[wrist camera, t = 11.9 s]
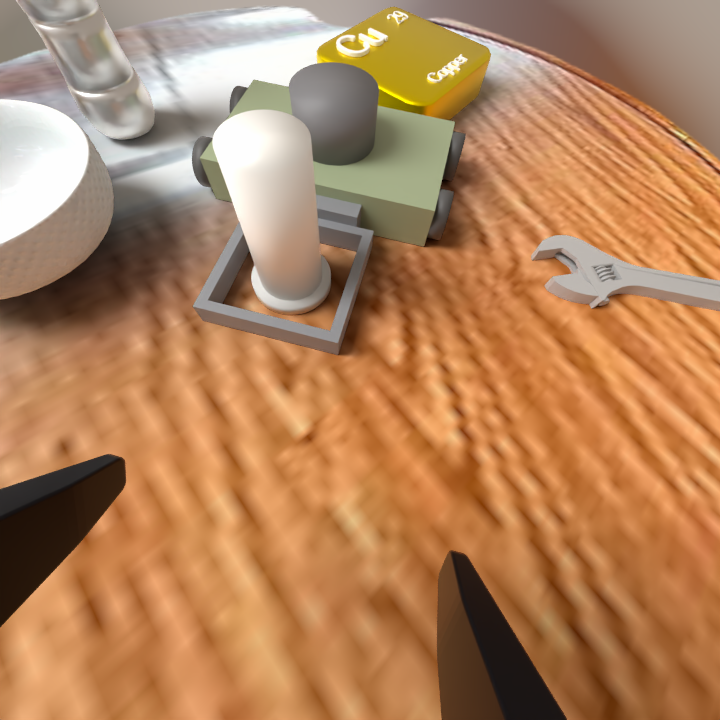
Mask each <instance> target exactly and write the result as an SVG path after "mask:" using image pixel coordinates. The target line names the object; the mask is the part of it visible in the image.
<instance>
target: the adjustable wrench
mask: <svg viewBox="0 0 720 720" xmlns="http://www.w3.org/2000/svg"><path fill="white" fill-rule="evenodd" d="M553 257H555V258H557V259H558V260H559V261H561V262H562V263H563V264H565V265H566V266H568V267H569V269H570V271H571V273H572V274H567V275H560V276H553V277H552V278H551V279H550V280H549V281H548V282H547V283H546V284H545V285H544V286H545V288H546V290H547V291H549V292H550V293H552V294H554V295H556V296H558V297H560V298H562V299H564V300H567V301H571V302H575V303H581V304H589V305H590V307H591V308H595V307H596V306H597V305H598V306H602V305H605V304H607V303H609V301H610V300H609V299H608V297H609V296H611V295H615V294H634V295H639V296H645V297H650V298H655V299H660V300H665V301H670V302H675V303H680V304H685V305H691V306H696V307H701V308H706V309H711V310H716V311H720V281H718V280H712V279H706V278H701V277H695V276H689V275H684V274H678V273H672V272H667V271H661V270H655V269H650V268H644V267H639V266H635V265H631V264H629V263H626V262H623V261H621V260H619V259H617V258H615V257H613V256H610V255H608V254H606V253H604V252H602V251H600V250H599V249H597V248H595V247H593V246H592V245H590V244H588V243H586V242H584V241H583V240H580V239H578V238H575V237H571V236H566V235H556V236H552V237H549V238H547V239H545V240H543V241H542V242H541V244H540V245H539V246H538V247H537V249H536V250H535V251H534V253H533V254H532V255H531V259H532V260H539V259H546V258H553Z"/></svg>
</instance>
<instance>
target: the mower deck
mask: <svg viewBox="0 0 720 720" xmlns="http://www.w3.org/2000/svg"><path fill="white" fill-rule="evenodd" d="M378 97H379V86H378V84H377V82H376V80H375V79H374V78H373V76H371V75H370V74H369V73H368V72H366V71H364V70H363V69H361V68H358V67H356V66H353V65H349V64H344V63H336V62H327V63H318V64H314V65H310V66H308V67H305V68H303V69H301V70H300V71H298V72H297V73H296V74H295V75H294V76H293V77H292V78H291V81H290V83H289V87H286V86H282V85H277V84H272V83H267V82H262V81H258V80H253V82H252V83H251V85H250V86H249V87H248V88H246V87H241V86H236V87H235V88H234V89H233V91H232V94H231V99H230V115H229V116H228V118H227V119H229V118H231V117H233V116H235V115H237V114H240V113H243V112H247V111H252V110H276V111H281V112H284V113H287V114H290V115H292V116H294V117H296V118H298V119H299V120H301V121H302V122H303V123H304V124H305V125H306V127H307V128H308V130H309V132H310V135H311V143H312V155H313V167H314V179H315V191H316V203H317V215H318V227H319V239H320V243H323V244H327V245H332V246H336V247H340V248H344V249H348V250H353V251H357V253H356V256H355V259H354V262H353V265H352V268H351V271H350V274H349V277H348V280H347V283H346V286H345V289H344V291H343V294H342V297H341V300H340V303H339V306H338V309H337V312H336V315H335V318H334V321H333V324H332V327H331V330H330V331H328V330H324V329H320V328H316V327H312V326H308V325H304V324H300V323H297V322H293V321H289V320H285V319H281V318H277V317H273V316H269V315H265V314H261V313H257V312H253V311H249V310H245V309H241V308H237V307H233V306H229V305H225V304H222V303H223V301H224V299H225V297H226V296H227V294H228V292H229V290H230V288H231V286H232V284H233V282H234V280H235V278H236V276H237V274H238V272H239V270H240V268H241V266H242V264H243V262H244V260H245V258H246V256H247V254H248V252H249V247H248V245H247V242H246V239H245V236H244V233H243V230H242V228H241V225H240V222H239V223H238V225H237V227H236V229H235V230H234V232H233V234H232V236H231V238H230V240H229V241H228V243H227V245H226V247H225V249H224V250H223V252H222V254H221V256H220V258H219V259H218V261H217V263H216V265H215V267H214V269H213V270H212V272H211V274H210V276H209V278H208V279H207V281H206V283H205V285H204V287H203V289H202V290H201V292H200V294H199V296H198V298H197V299H196V301H195V303H194V305H193V308H194V309H195V310H196V312H197V313H198V314H199V316H200V317H201V319H202V320H203V321H207V322H211V323H215V324H219V325H223V326H226V327H230V328H234V329H238V330H242V331H246V332H250V333H254V334H258V335H262V336H266V337H270V338H273V339H277V340H281V341H285V342H289V343H293V344H297V345H301V346H305V347H309V348H313V349H317V350H320V351H324V352H328V353H332V354H336V355H338V354H339V351H340V347H341V344H342V341H343V338H344V335H345V332H346V328H347V325H348V322H349V319H350V316H351V313H352V309H353V306H354V303H355V300H356V297H357V293H358V290H359V287H360V284H361V281H362V278H363V274H364V271H365V268H366V265H367V262H368V259H369V255H370V252H371V249H372V242H373V235H375V236H380V237H384V238H388V239H393V240H397V241H401V242H406V243H410V244H414V245H418V246H423V247H424V245H425V241H426V238H432V239H436V240H440V239H441V237H442V234H443V231H444V228H445V225H446V222H447V219H448V215H449V212H450V208H451V204H452V200H453V195H454V192H453V191H449V190H444V189H440V186H441V182H442V179H444V180H449V181H452V180H453V177H454V175H455V172H456V169H457V165H458V162H459V159H460V155H461V152H462V148H463V144H464V140H465V135H466V134H464V133H459V132H455V131H453V129H454V125H455V122H454V121H449V120H444V119H439V118H435V117H430V116H425V115H420V114H415V113H411V112H406V111H401V110H396V109H392V108H387V107H382V106H378ZM227 119H226V120H227ZM192 164H193V170H194V174H195V176H196V178H197V180H198V182H199V183H200V184H201V185H203V186H206V187H211V188H212V190H213V192H214V195H215V197H216V199H220V200H225V201H229V202H232V199H231V197H230V194H229V191H228V188H227V185H226V183H225V180H224V177H223V174H222V171H221V168H220V166H219V163H218V160H217V157H216V154H215V152H214V149H213V138H210V137H205V136H202V137H200V138H198V139H197V141H196V142H195V145H194V148H193V153H192Z"/></svg>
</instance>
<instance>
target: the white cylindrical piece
mask: <svg viewBox="0 0 720 720" xmlns="http://www.w3.org/2000/svg"><path fill="white" fill-rule="evenodd" d="M213 149H214V152H215V154H216V157H217V160H218V163H219V166H220V168H221V171H222V174H223V177H224V180H225V183H226V185H227V188H228V191H229V194H230V197H231V199H232V202H233V205H234V208H235V211H236V214H237V216H238V219H239V222H240V225H241V228H242V230H243V233H244V236H245V239H246V242H247V245H248V247H249V250H250V253H251V256H252V259H253V261H254V264H255V265H254V267H253V270H252V275H251V281H252V285H253V288H254V290H255V293H256V296H257V297H258V299H259V301H260V302H261V303H262V304H263V305H264V306H265V307H267V308H268V309H270V310H271V311H273V312H276V313H279V314H284V315H298V314H303V313H306V312H309V311H311V310H313V309H315V308H316V307H318V306H319V305H320V304H322V302H323V301H324V300H325V299H326V298H327V296H328V294H329V292H330V289H331V271H330V267H329V264H328V262H327V260H326V259H325V258H324V257H323V256H322V255H321V252H320V239H319V227H318V215H317V203H316V191H315V179H314V167H313V155H312V143H311V135H310V132H309V130H308V128H307V127H306V125H305V124H304V123H303V122H302V121H301V120H299V119H298V118H296V117H294V116H292V115H290V114H287V113H284V112H281V111H276V110H252V111H247V112H243V113H240V114H237V115H235V116H233V117H231V118H229V119H227V120H226V121H224V122H223V123H222V124H221V125H220V126H219V127H218V128H217V130H216V131H215V133H214V136H213Z"/></svg>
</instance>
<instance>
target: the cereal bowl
mask: <svg viewBox="0 0 720 720" xmlns="http://www.w3.org/2000/svg"><path fill="white" fill-rule="evenodd" d="M113 209H114V194H113V187H112V181H111V179H110V177H109V173H108V171H107V169H106V166H105V164H104V162H103V161H102V159H101V156H100V154H99V153H98V152H97V150H96V148H95V146H94V144H93V143H92V142H91V141H90V139H89V137H88V135H87V134H86V133H85V132H84V131H83V129H82V128H81V127H80V126H79V125H78V124H77V123H76V122H75V121H73V120H72V119H71V118H69V117H68V116H67V115H65V114H63V113H61V112H60V111H58V110H55V109H53V108H50V107H47V106H44V105H40V104H36V103H31V102H25V101H16V100H0V299H7V298H10V297H16V296H20V295H22V294H25V293H29V292H32V291H35V290H37V289H39V288H42V287H43V286H45V285H48V284H50V283H52V282H54V281H56V280H57V279H59V278H61V277H63V276H65V275H66V274H67V273H70V272H71V271H72V270H73V269H75V268H76V267H77V266H79V265H80V264H81V263H82V262H84V261H85V260H86V259H87V258H88V257H89V256H90V254H92V253H93V252H94V250H95V249H96V248H97V247H98V245H99V244H100V242H101V241H102V240H103V238H104V236H105V234H106V233H107V231H108V227H109V226H110V224H111V218H112V216H113Z"/></svg>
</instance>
